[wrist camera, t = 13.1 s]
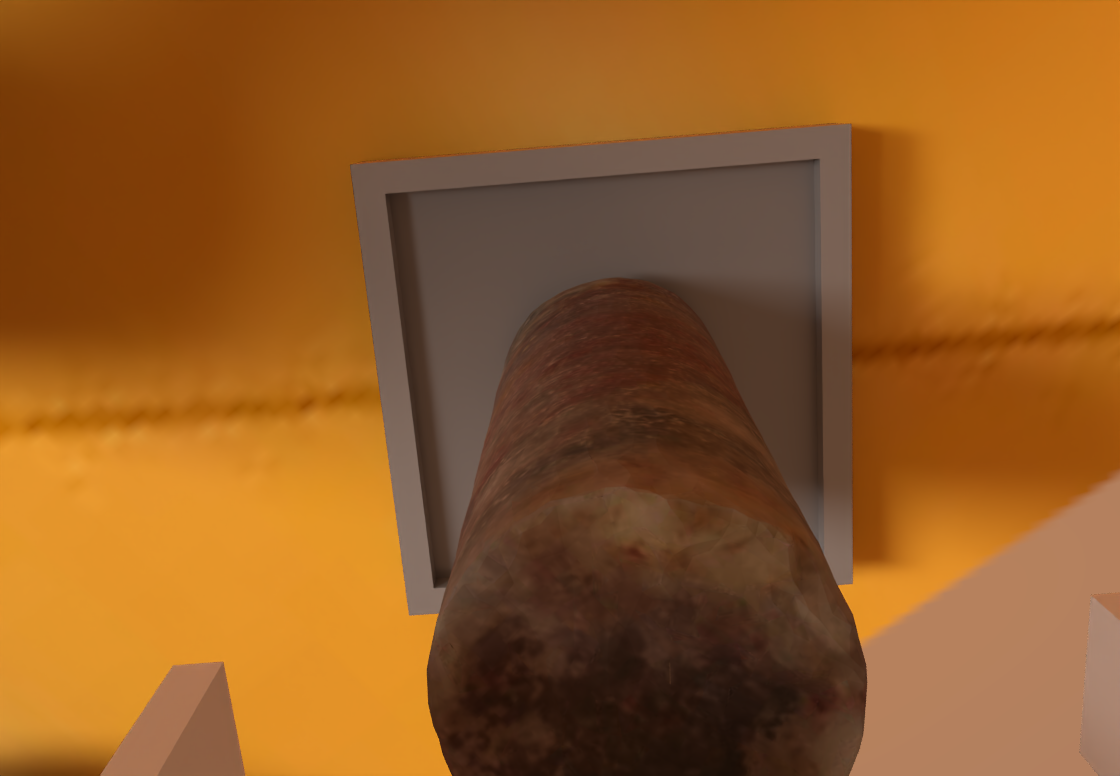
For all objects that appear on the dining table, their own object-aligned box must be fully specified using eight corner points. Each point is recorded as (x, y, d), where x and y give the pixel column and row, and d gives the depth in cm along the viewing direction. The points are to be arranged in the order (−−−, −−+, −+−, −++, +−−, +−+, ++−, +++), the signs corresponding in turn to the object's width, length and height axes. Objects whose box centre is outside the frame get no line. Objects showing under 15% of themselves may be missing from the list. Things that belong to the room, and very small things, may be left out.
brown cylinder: (533, 502, 36) (500, 951, 17) (469, 310, 34) (349, 564, 15) (740, 444, 35) (953, 839, 16) (686, 244, 34) (854, 422, 14)
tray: (417, 586, 39) (409, 615, 36) (363, 161, 34) (349, 164, 32) (835, 556, 38) (852, 583, 36) (832, 123, 34) (851, 123, 32)
